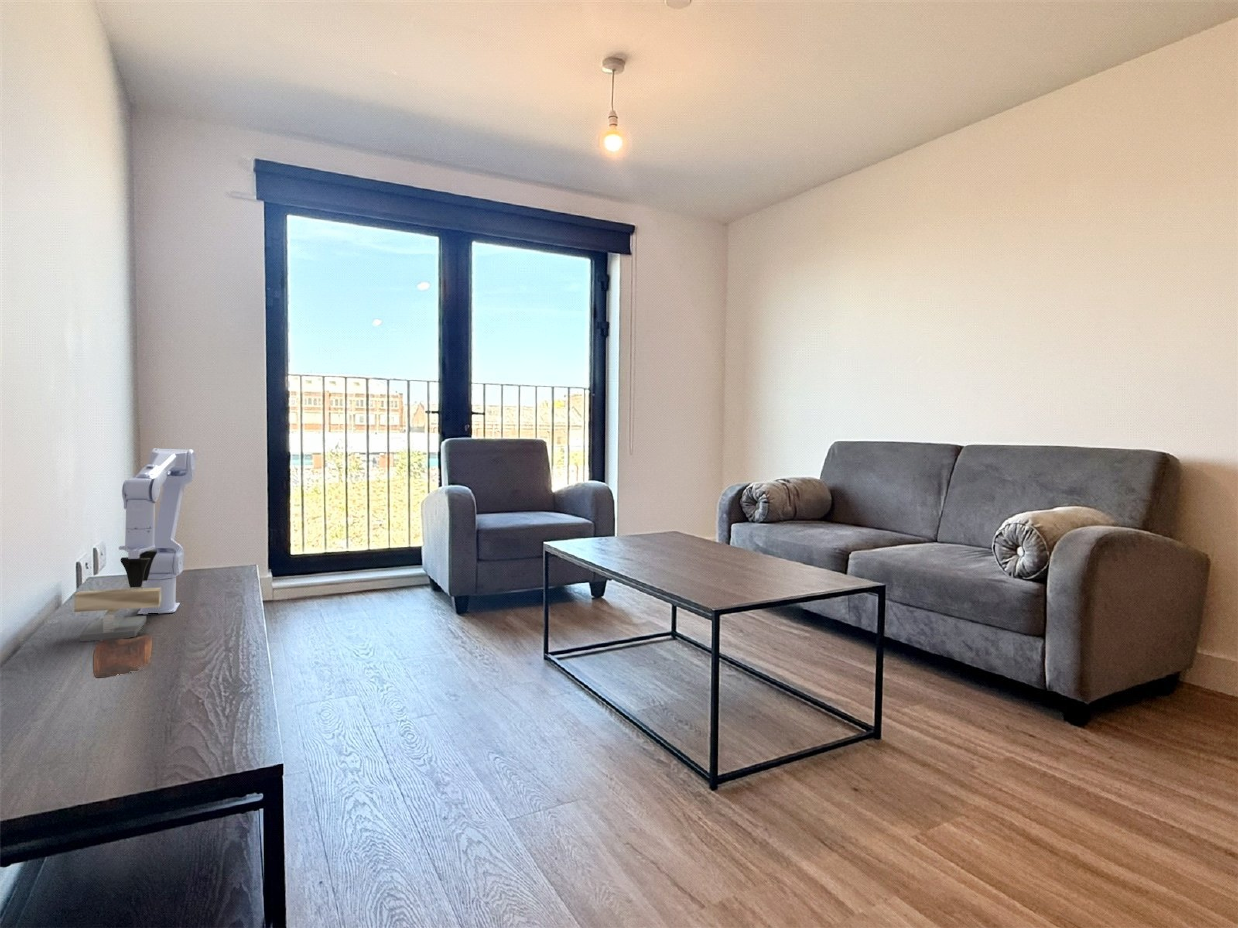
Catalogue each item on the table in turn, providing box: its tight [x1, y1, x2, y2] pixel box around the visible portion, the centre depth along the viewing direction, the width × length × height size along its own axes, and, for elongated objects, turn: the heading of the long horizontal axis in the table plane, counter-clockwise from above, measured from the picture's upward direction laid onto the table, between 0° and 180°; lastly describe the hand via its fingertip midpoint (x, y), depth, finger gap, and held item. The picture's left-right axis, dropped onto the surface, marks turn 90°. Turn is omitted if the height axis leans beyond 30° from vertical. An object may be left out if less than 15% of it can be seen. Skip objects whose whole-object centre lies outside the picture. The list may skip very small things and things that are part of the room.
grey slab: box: [79, 615, 147, 642], centre depth 156 cm, size 14×10×2 cm
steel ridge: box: [102, 609, 127, 633], centre depth 156 cm, size 13×2×4 cm, turn 27°
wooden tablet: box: [93, 634, 153, 678], centre depth 139 cm, size 26×2×10 cm
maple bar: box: [73, 587, 161, 613], centre depth 156 cm, size 3×16×4 cm, turn 117°
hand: (138, 583), depth 160 cm, fingers open, 7 cm apart
